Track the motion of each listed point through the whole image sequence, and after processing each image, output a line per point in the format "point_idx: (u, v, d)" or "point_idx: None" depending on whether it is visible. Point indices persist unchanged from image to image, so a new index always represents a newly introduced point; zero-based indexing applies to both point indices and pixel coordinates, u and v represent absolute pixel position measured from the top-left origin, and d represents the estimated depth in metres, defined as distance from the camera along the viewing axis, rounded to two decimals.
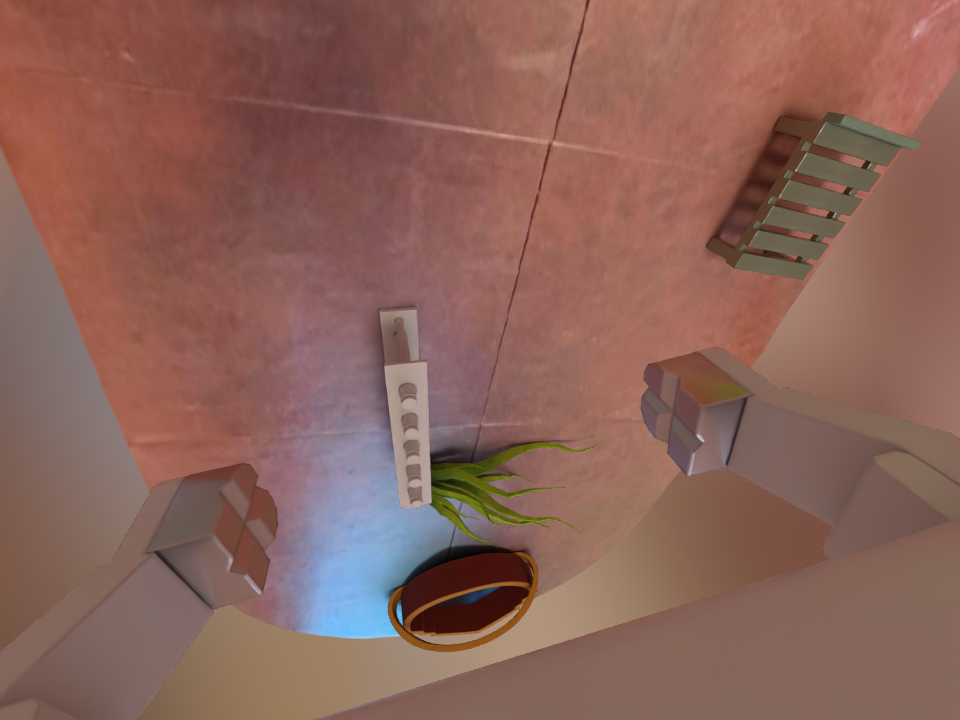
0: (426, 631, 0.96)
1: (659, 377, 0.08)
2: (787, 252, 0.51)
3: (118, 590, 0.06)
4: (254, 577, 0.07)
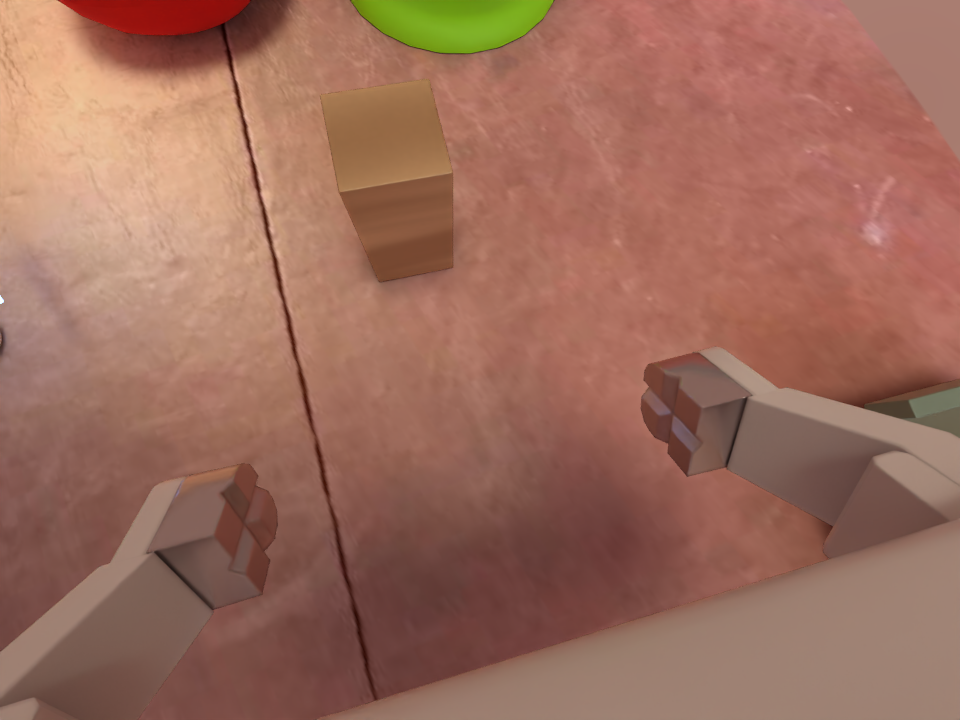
0: None
1: (659, 376, 0.08)
2: None
3: (118, 589, 0.06)
4: (254, 577, 0.07)
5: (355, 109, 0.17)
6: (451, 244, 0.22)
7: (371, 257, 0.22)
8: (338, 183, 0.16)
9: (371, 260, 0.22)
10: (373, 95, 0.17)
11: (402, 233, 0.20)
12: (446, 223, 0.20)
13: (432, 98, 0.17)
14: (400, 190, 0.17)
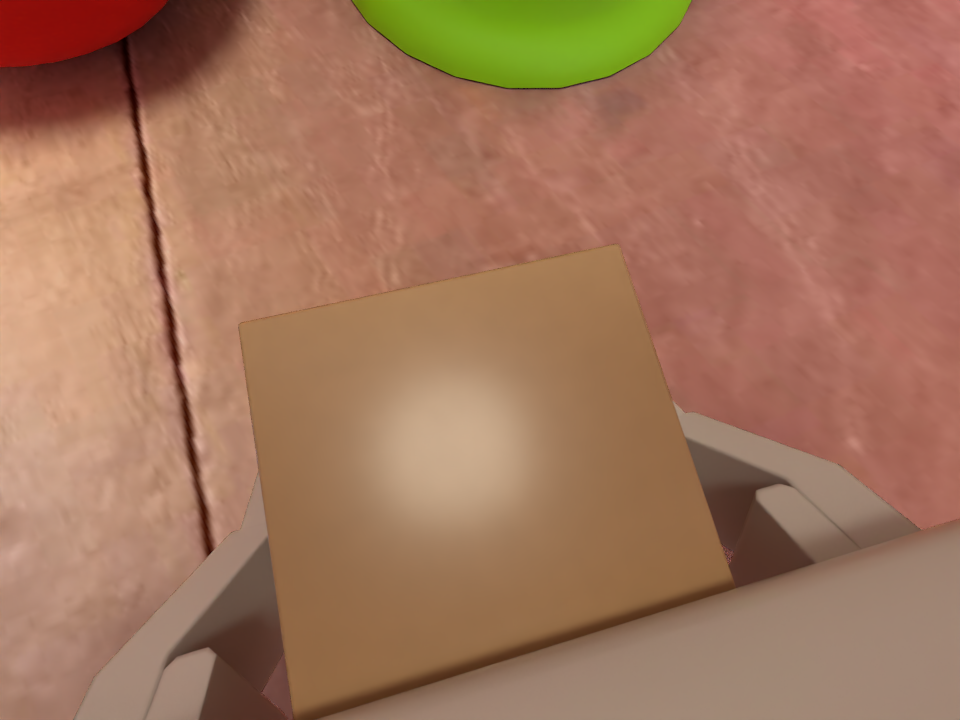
0: None
1: None
2: None
3: (256, 552, 0.06)
4: None
5: (368, 381, 0.04)
6: None
7: None
8: None
9: None
10: (435, 319, 0.05)
11: None
12: None
13: (640, 319, 0.05)
14: None
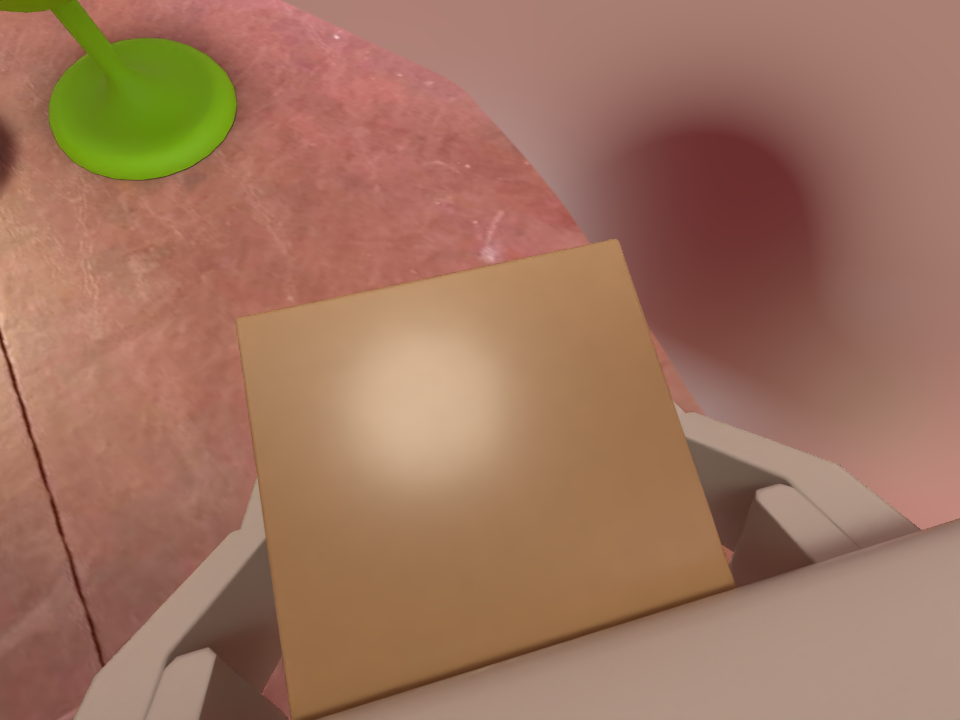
0: None
1: None
2: None
3: (256, 552, 0.06)
4: None
5: (367, 376, 0.04)
6: None
7: None
8: None
9: None
10: (433, 314, 0.05)
11: None
12: None
13: (638, 314, 0.05)
14: None
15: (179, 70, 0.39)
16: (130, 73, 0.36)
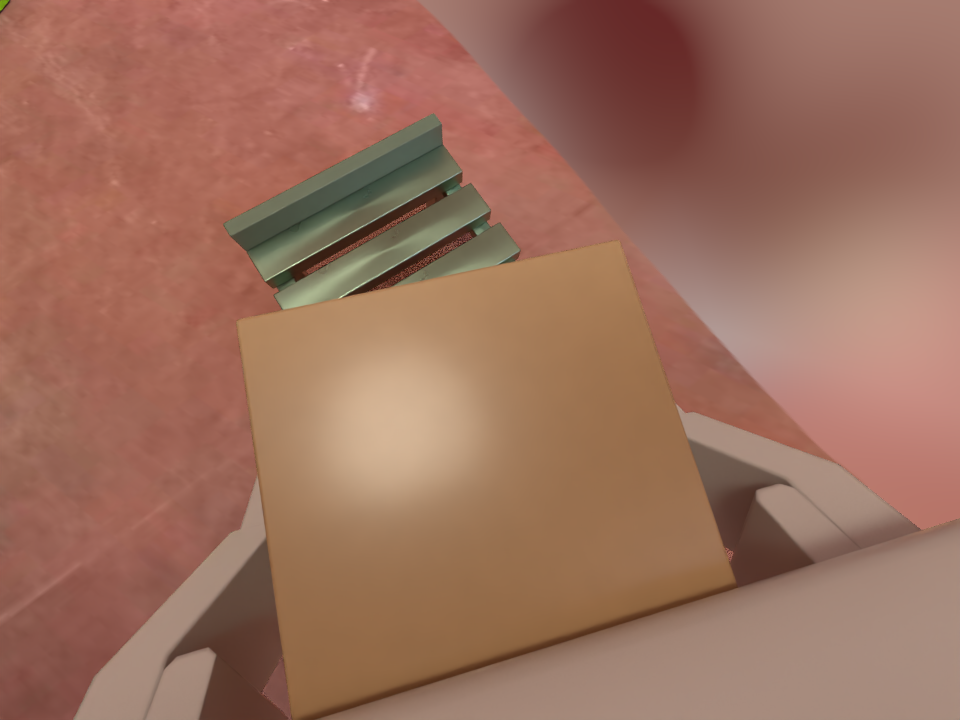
0: None
1: None
2: None
3: (256, 552, 0.06)
4: None
5: (368, 377, 0.04)
6: None
7: None
8: None
9: None
10: (435, 315, 0.05)
11: None
12: None
13: (640, 316, 0.05)
14: None
15: None
16: None
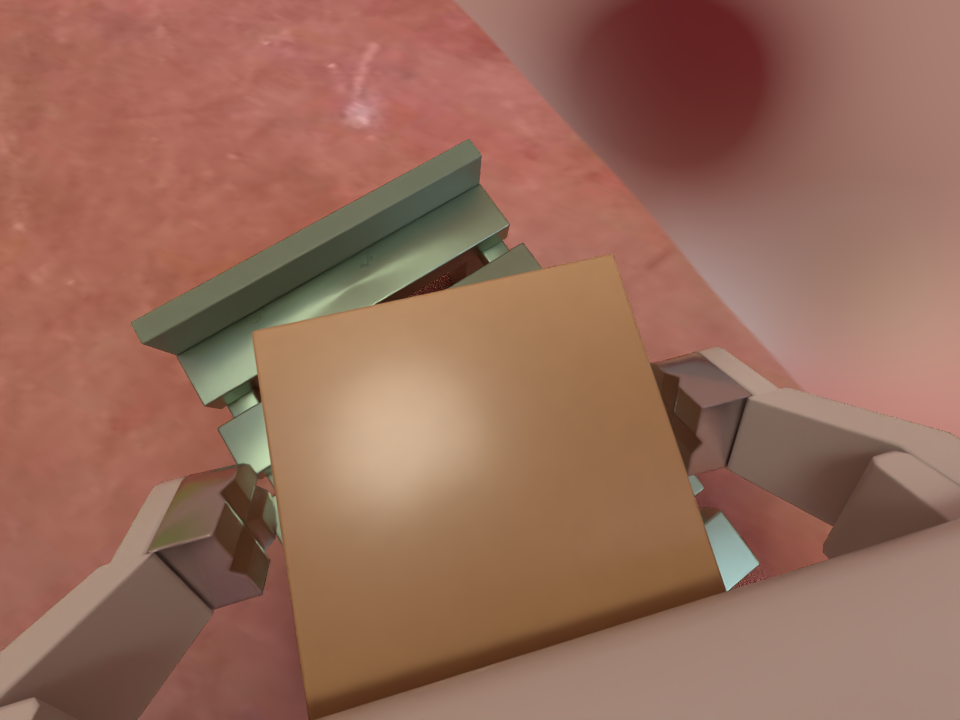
0: None
1: (659, 377, 0.08)
2: None
3: (118, 590, 0.06)
4: (254, 577, 0.07)
5: (376, 386, 0.05)
6: None
7: None
8: None
9: None
10: (438, 326, 0.05)
11: None
12: None
13: (633, 326, 0.05)
14: None
15: None
16: None
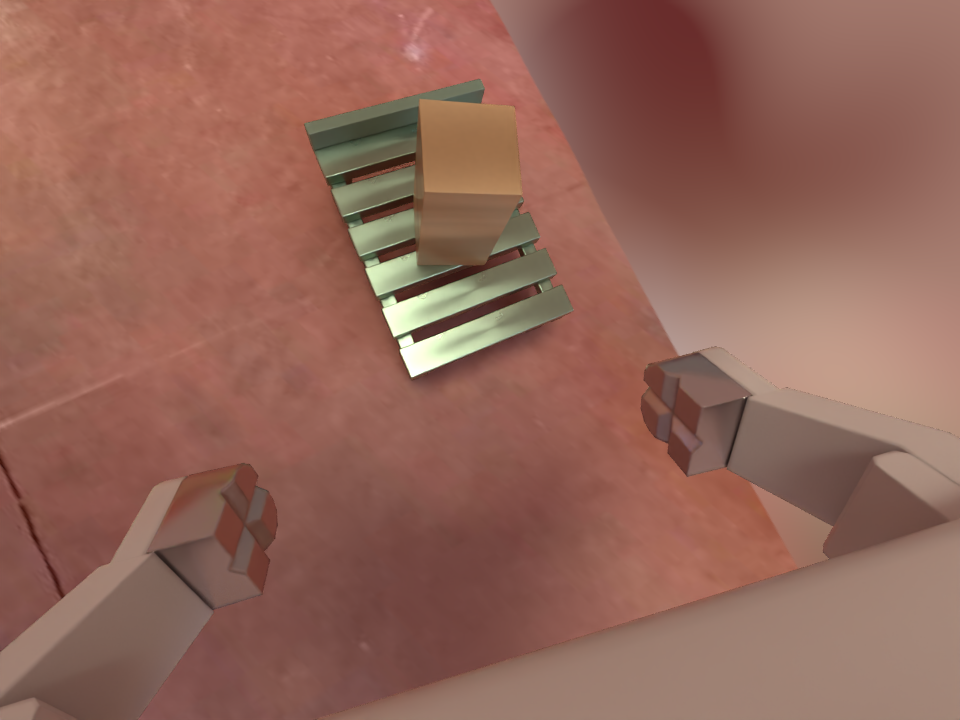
0: None
1: (659, 376, 0.08)
2: (482, 299, 0.27)
3: (118, 590, 0.06)
4: (254, 577, 0.07)
5: (448, 120, 0.19)
6: (492, 247, 0.25)
7: (421, 244, 0.24)
8: (424, 183, 0.18)
9: (420, 247, 0.24)
10: (466, 110, 0.19)
11: (457, 231, 0.22)
12: (498, 230, 0.23)
13: (515, 125, 0.20)
14: (474, 199, 0.19)
15: None
16: None
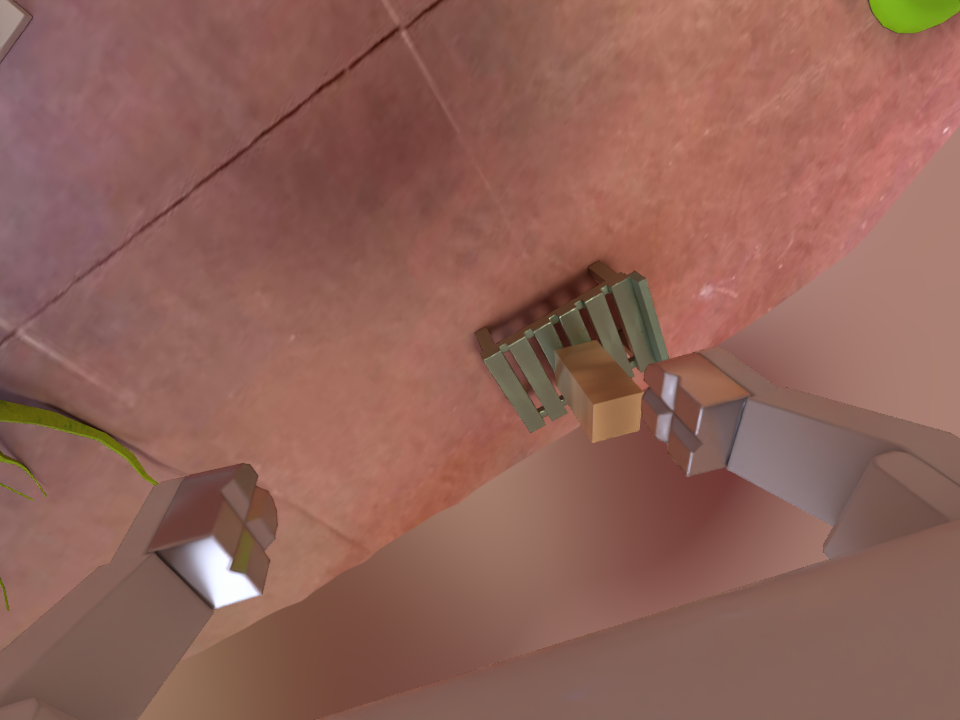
0: None
1: (659, 376, 0.08)
2: (534, 388, 0.44)
3: (117, 589, 0.06)
4: (254, 577, 0.07)
5: (631, 406, 0.36)
6: (566, 401, 0.42)
7: (566, 368, 0.39)
8: (597, 404, 0.35)
9: (565, 366, 0.39)
10: (636, 412, 0.36)
11: (574, 395, 0.39)
12: (575, 414, 0.40)
13: (629, 432, 0.37)
14: (590, 421, 0.36)
15: None
16: None
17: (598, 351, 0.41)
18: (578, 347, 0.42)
